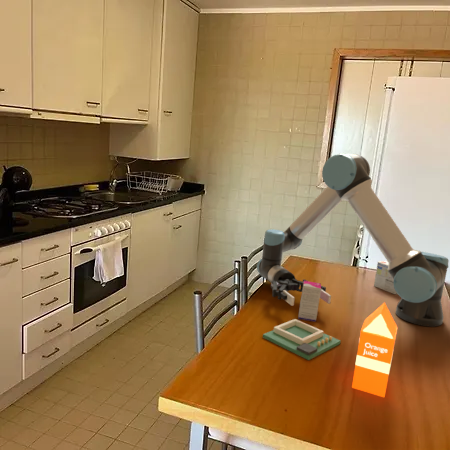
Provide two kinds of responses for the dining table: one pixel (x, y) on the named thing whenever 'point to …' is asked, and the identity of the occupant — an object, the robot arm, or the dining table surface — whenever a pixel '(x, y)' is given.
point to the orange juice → (375, 352)
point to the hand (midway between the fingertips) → (311, 300)
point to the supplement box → (309, 301)
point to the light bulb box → (384, 277)
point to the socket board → (301, 339)
